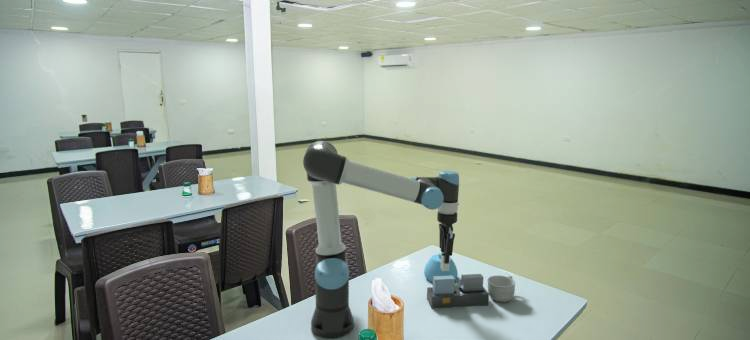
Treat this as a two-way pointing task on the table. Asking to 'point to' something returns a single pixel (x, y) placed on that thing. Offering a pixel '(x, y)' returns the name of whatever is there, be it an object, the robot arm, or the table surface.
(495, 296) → the teacup
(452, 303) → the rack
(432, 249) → the table surface
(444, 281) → the panel
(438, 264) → the sugar bowl
